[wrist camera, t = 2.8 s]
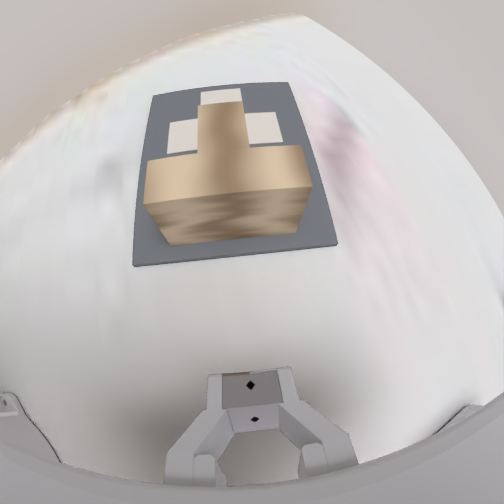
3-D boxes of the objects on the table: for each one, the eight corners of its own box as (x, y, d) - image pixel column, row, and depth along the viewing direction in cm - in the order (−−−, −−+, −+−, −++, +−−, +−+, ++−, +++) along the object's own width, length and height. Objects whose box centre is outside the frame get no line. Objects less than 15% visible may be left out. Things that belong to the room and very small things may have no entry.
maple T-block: (170, 246, 26) (143, 204, 18) (172, 164, 29) (155, 112, 22) (295, 233, 26) (312, 186, 19) (279, 153, 30) (286, 99, 22)
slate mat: (134, 266, 26) (132, 264, 25) (154, 98, 35) (153, 95, 34) (336, 245, 27) (338, 243, 26) (287, 85, 36) (288, 82, 35)
